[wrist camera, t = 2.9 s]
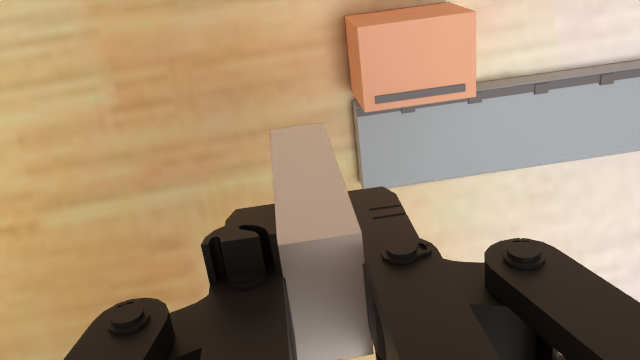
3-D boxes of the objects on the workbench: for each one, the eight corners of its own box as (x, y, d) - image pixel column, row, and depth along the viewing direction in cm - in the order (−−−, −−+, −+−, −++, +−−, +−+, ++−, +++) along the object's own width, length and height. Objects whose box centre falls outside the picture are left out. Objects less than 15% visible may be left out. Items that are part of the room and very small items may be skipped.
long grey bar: (359, 181, 37) (364, 192, 35) (352, 100, 35) (357, 108, 33) (688, 133, 38) (707, 141, 36) (700, 51, 36) (721, 56, 34)
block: (351, 91, 34) (365, 113, 30) (344, 16, 32) (357, 27, 28) (450, 78, 34) (476, 97, 30) (448, 2, 33) (476, 11, 29)
